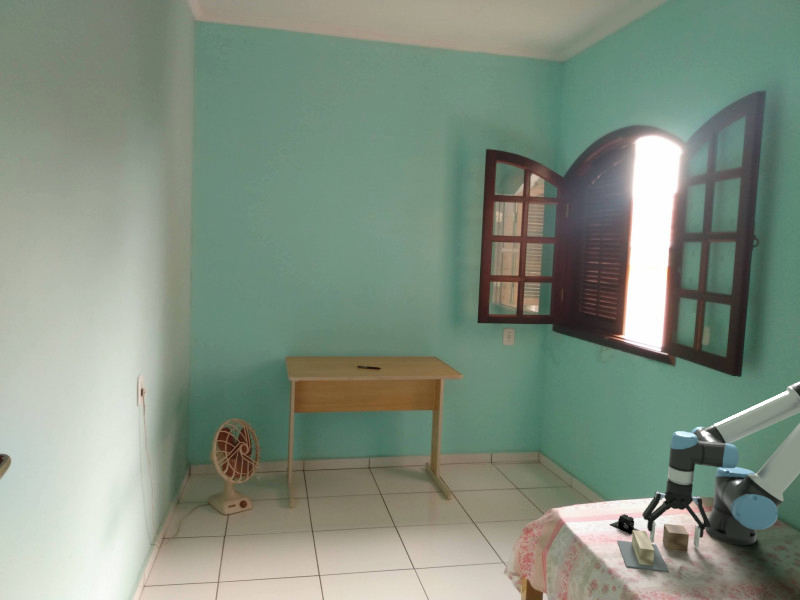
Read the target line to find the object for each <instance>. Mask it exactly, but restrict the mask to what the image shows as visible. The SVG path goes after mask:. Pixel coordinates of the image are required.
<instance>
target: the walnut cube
mask: <svg viewBox="0 0 800 600" xmlns="http://www.w3.org/2000/svg"><path fill="white" fill-rule="evenodd" d="M662 533H663V535H662V542H663V544H664V546H665V549H666V550H667V551H673V552H681V553H682V552H683V553H688V550H689V549H688V548H689V538H690V537H689V536H690V535H689V533H688V531H687V530H686V528H685V526H684V525H680V524H667V523H663V532H662Z"/></svg>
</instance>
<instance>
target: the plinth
mask: <svg viewBox="0 0 800 600" xmlns="http://www.w3.org/2000/svg"><path fill="white" fill-rule="evenodd" d="M638 530H639V529H638ZM638 530H633V531H632V535H631V542H632V547H633V550H634V552H635V555H636V557H637V560H638V562H639V564H643V565H652V566H653V561H654V548H653V546H652V544H653V543H652V542H651V541H650V538H649V537H650V536H649V534H648V533H647V532H646V530H640V531H638Z"/></svg>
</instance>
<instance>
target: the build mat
mask: <svg viewBox="0 0 800 600" xmlns="http://www.w3.org/2000/svg"><path fill="white" fill-rule="evenodd" d="M617 544H618V546H619V549H620V553H621V555H622V557H623V558H622V559H623V561H624V563H625V567H626V568H631V569H639V570H648V571H657V572H664V573H669V572H670V571H669V569H668V567H667V564H666V562H665V559H664V558H663V555H662V554H661V552H660V549H659V547H658V545H657V544H656V543H655V544H654V543H651V544H652V546H653V548H654V561H653V566H652V565H643V564H639V562H638V560H637V557H636V555H635V552H634V550H633V547H632V541H627V540H618V539H617Z"/></svg>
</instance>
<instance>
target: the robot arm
mask: <svg viewBox="0 0 800 600" xmlns="http://www.w3.org/2000/svg"><path fill="white" fill-rule="evenodd" d="M799 413H800V380H799V381H797V382H794V383H793V384H791V385H789V386H787V387H786V390H785V391H783V392H781V393H779V394H776V395H774V396H773V397H770V398H768V399H766V400H763V401H762V402H759V403H758V404H755V405H753V406H751V407H749V408H747V409H743V410H742V411H740V412H738V413H735V414H733V415H731V416H729V417H727V418H724V419H723V420H721V421H718V422H716V423H713V424H711V425H710V426H708V427H705V426H697V427H694V428H693V429H692V430H691V432H690V431H688V432H687V431H685V430H681V431H680V430H678V431H674V432H673V433H672V435H671V441H670V443H669V444H670V445H669V447H670V449H669V460H668V461H669V462H668V469H667V479H666V485H665V486H666V489H665V492H664V493H663V492H660V491H659V490H656V491H655V492H654V496H653V498H652V500H651V501H650V503H649V504H648V505H647V507H646V508H645V509H644V511H643V512H642V515H641V516H642V518H643V520H644V521H647V526H646V528H647V530H648V532H649V536H648V537H649V540H650V542H651V543H652V544H654V543H655V536H656V535H655V533H656V522H655V521H656V520H657V519H658V518H660V517H661V516H662V515H663V514H664V513H665V512H667V511H669V510H670V509H673V510H681V511H684V510H686V511H687V512H688V513H689V514H690V515H691V517H692V518H693V520H694V521H695V522H696V524H695V527H694V536H693V545H694V547H695V548H696V549H699V547H700V539H701V538H703V537H704V530H705V531H706V533H707V534H708V535H710V537H712V538H714V539H715V540H719V541H720V542H723V543H727V544H731V545H736V546H751V545H754V544H756V542H757V530H758V531H761V530H767V529H768V528H771V527H772V526H773V525H774V524H775V523H776V521H777V520H778V516H779V512H778V511H779V510H778V508H779V507H780V506H781V505H782V504H783V502H784V496H783V495H784V494H783V493H784V492H785V491H786V489H788V488H789V486H790V485H791V484H792V482H794V481H795V479H796V478H797V477H798V476H799V475H800V422H799V423H798V424H797V425H796V426H795V428H794V429H792V431H791V433H789V435H787V437H786V438H785V439H784V440H783V441H782V443H781V444H780V445H779V446H778V447H777V449H776V450H775V451H774V452H773V453H772V455H771V456H770V457H769V458H768V459H767V460H766V461H765V463H764V464H763V465H762V466H761V467H760V469H759V470H758V471H757V472H756V473H755V471H753V470H750V469H748V468H747V469H746V468H744V467H738V464H739V459H740V455H739V454H740V453H739V450H738V447H737V446H736V445H735V444H732V443H735V442H737V441H739V440H742V439H743V438H745V437H747V436H750V435H752V434H755V433H757V432H760V431H761V430H763V429H766V428H768V427H770V426H773V425H775V424H776V423H779V422H781V421H784V420H786V419H788V418H790V417H792V416H795V415H797V414H799ZM697 465H698V466H706V467H715V468H717V469H716V472H715V473H716V474H715V480H714V481H715V484H714V495H713V506H712V510H711V511H710V513H709V516H708V515H707V513H706V511H705V509H704V506H703V498H701V496H700V495H696V496H692V494H693V486H694V485H693V483H694V475H695V468H696V467H695V466H697ZM663 499H665V500H664V501H663V502H662V504H660V506H658V505H659V503H660V502H661V501H662V500H663ZM692 502H694V504H695V505H696V506H697V508H698V511H699V513H700V516H701V518H702V521H701V519H700V518H699V517H698V516H697V514H696V513H695V512H694V510H693V509H692V507H691V506H690V504H692ZM657 506H658V507H657Z"/></svg>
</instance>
